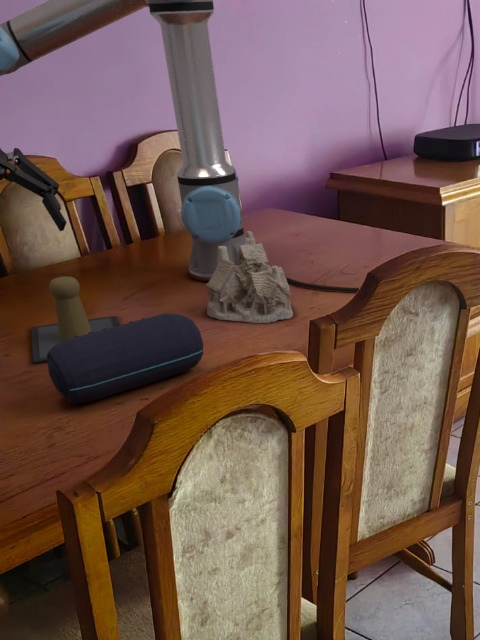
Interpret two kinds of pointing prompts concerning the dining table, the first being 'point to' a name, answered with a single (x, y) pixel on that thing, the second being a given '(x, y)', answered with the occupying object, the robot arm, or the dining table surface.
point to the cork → (69, 308)
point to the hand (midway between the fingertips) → (30, 234)
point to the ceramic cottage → (248, 287)
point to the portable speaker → (124, 357)
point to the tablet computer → (49, 337)
